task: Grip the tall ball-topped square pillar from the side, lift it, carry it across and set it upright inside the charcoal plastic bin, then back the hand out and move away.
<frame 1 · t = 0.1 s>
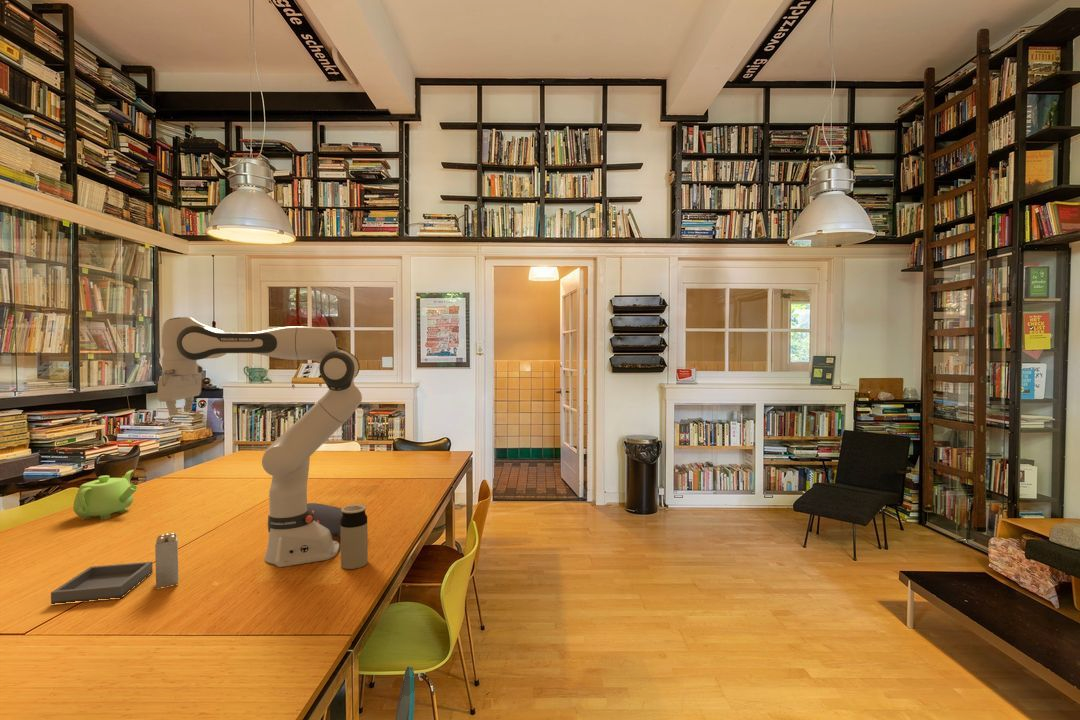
hand: (180, 413, 156), 48 cm above the table, tool pointing down, fingers open, 8 cm apart
charcoal bin: (105, 588, 142), on the table
travel mug: (354, 565, 158), on the table
ball-topped square pillar: (167, 584, 145), on the table
teapot: (114, 513, 205), on the table
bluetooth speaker: (328, 533, 184), on the table
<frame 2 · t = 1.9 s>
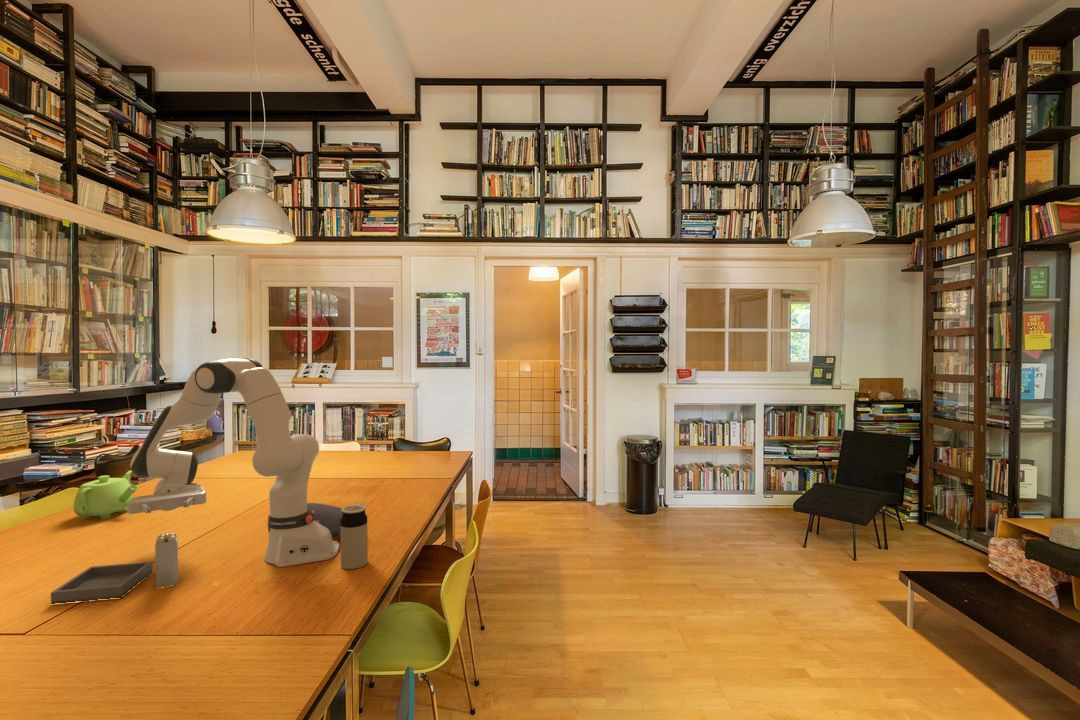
hand: (167, 507, 154), 19 cm above the table, tool horizontal, fingers open, 8 cm apart
nothing on the table moved.
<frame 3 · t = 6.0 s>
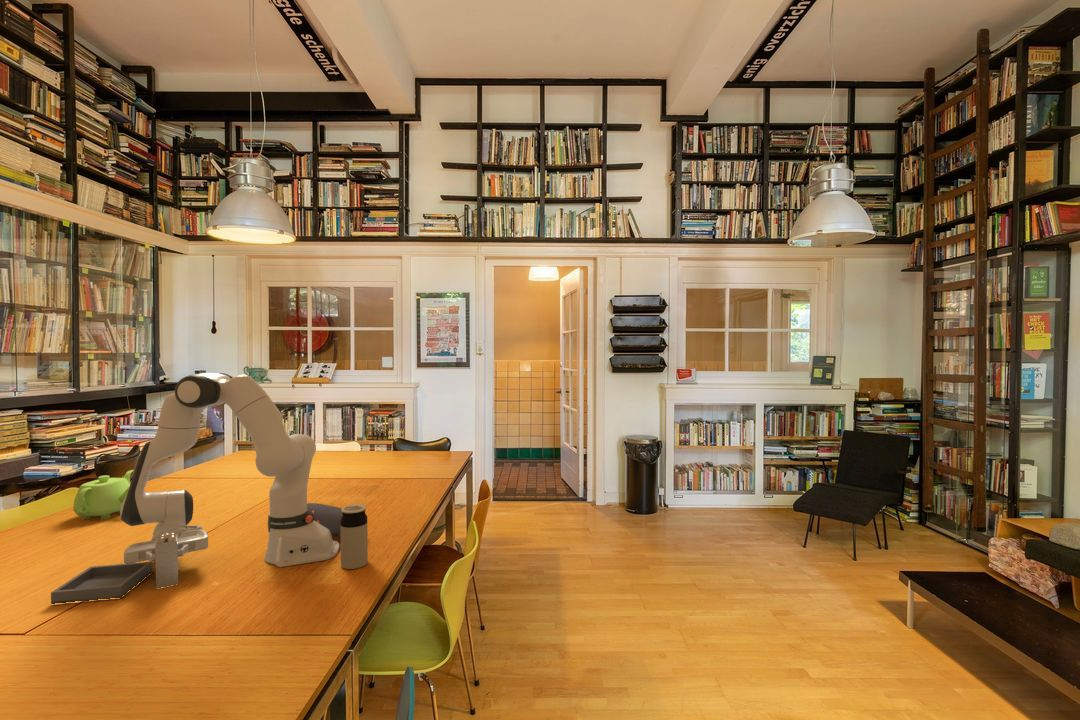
hand: (166, 556, 144), 8 cm above the table, tool horizontal, fingers closed on ball-topped square pillar, 5 cm apart
ball-topped square pillar: (167, 584, 145), on the table, touching gripper
everything else where it was.
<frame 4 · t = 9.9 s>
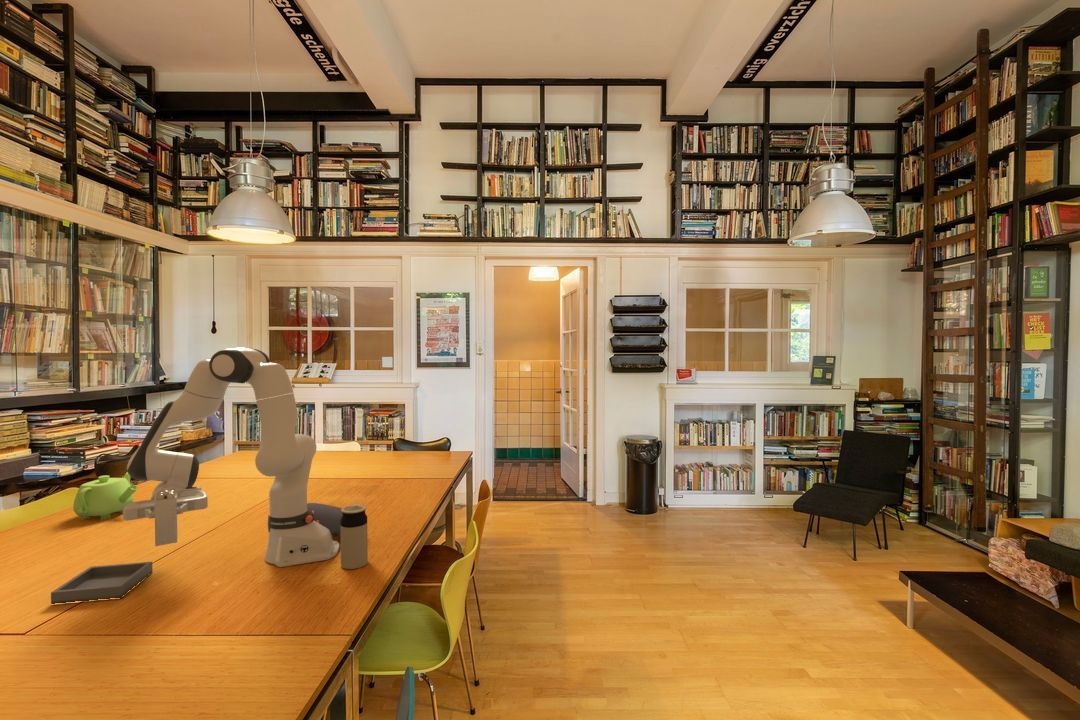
hand: (166, 513, 143), 21 cm above the table, tool horizontal, fingers closed on ball-topped square pillar, 5 cm apart
ball-topped square pillar: (166, 541, 144), point 12 cm above the table, touching gripper
everything else where it was.
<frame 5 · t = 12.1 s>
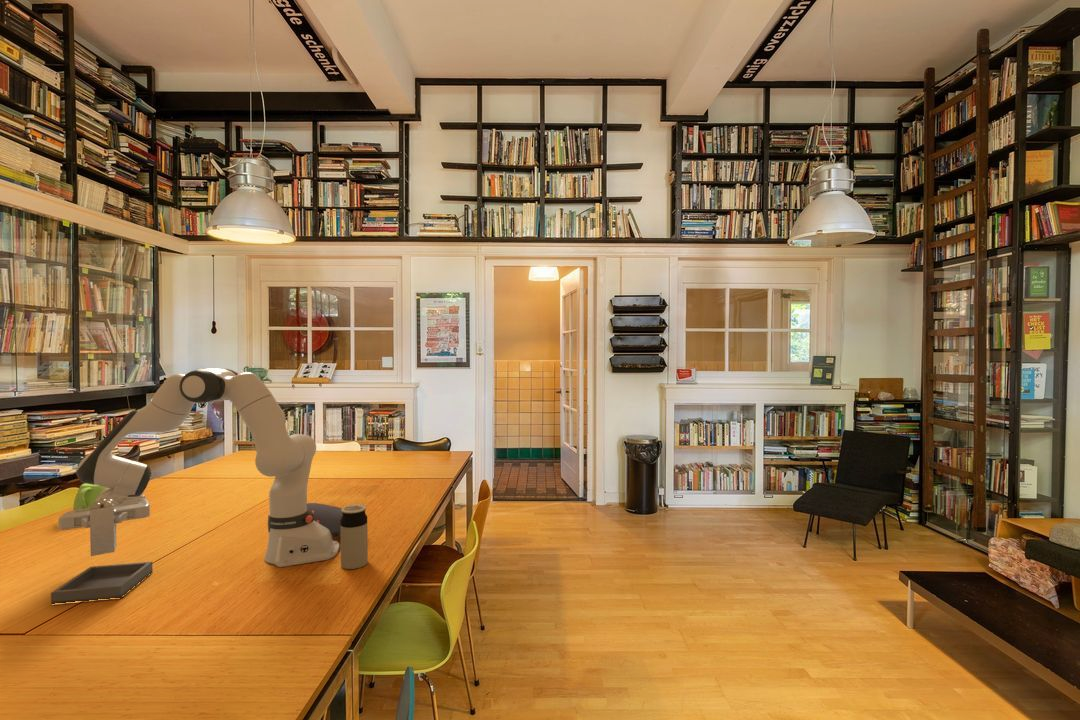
hand: (102, 522, 141), 19 cm above the table, tool horizontal, fingers closed on ball-topped square pillar, 5 cm apart
ball-topped square pillar: (103, 551, 142), point 11 cm above the table, touching gripper
everything else where it was.
when the fingers open (10 cm above the table, at t = 13.9 s): ball-topped square pillar stays where it is, resting on charcoal bin.
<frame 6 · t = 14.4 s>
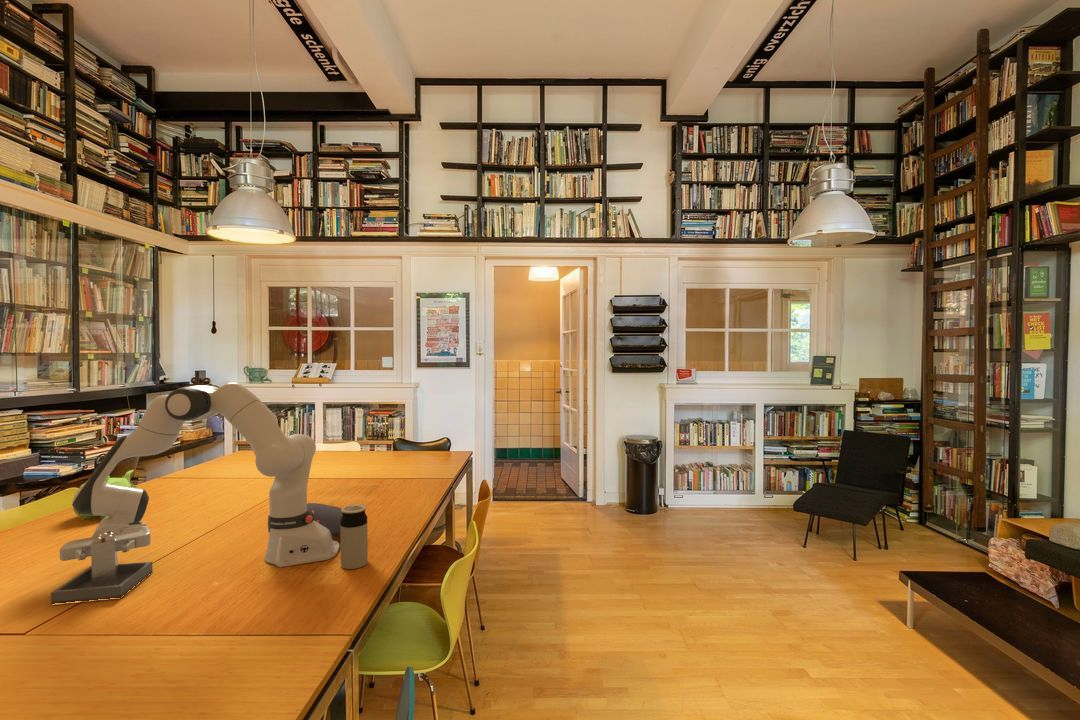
hand: (103, 553, 141), 10 cm above the table, tool horizontal, fingers open, 8 cm apart
ball-topped square pillar: (105, 584, 142), point 1 cm above the table, touching charcoal bin
everything else where it was.
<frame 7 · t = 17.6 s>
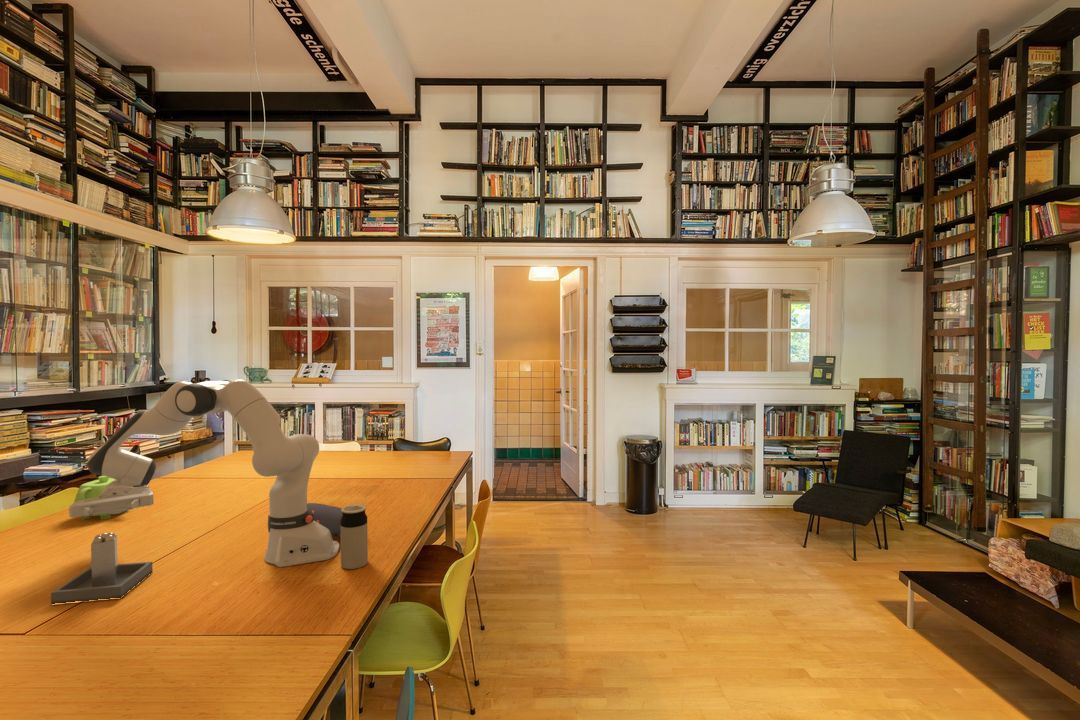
hand: (110, 509, 151), 19 cm above the table, tool horizontal, fingers open, 8 cm apart
nothing on the table moved.
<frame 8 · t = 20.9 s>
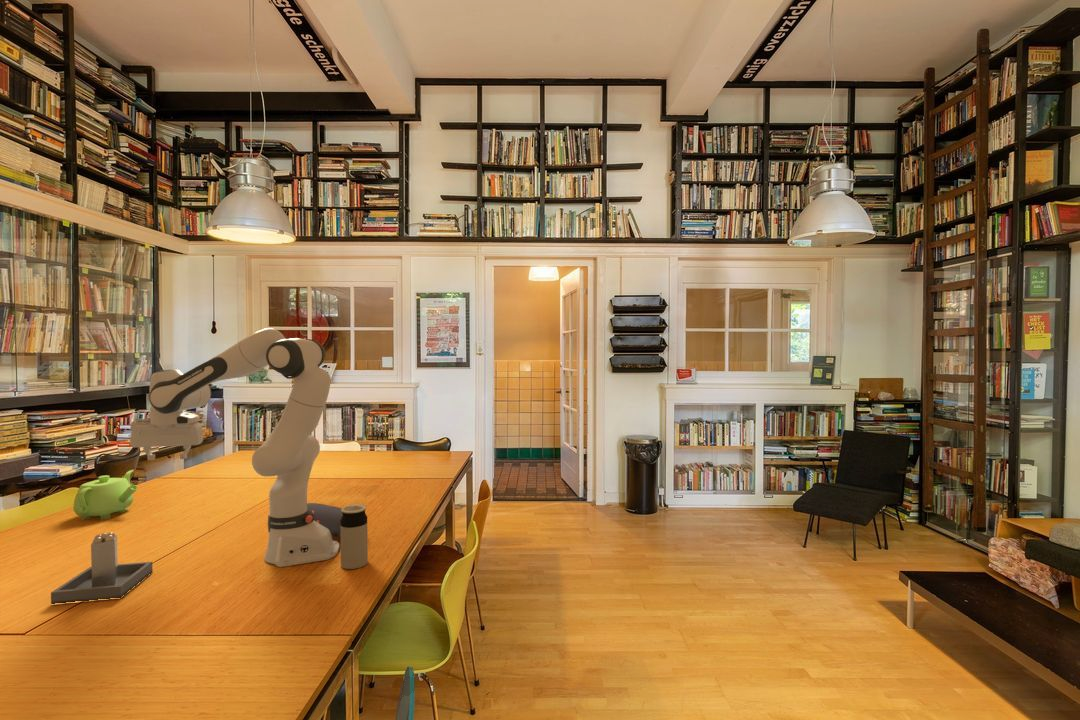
hand: (167, 459, 167), 31 cm above the table, tool pointing down, fingers open, 8 cm apart
nothing on the table moved.
at the end: ball-topped square pillar inside the target area on the charcoal bin (0.0 cm from its centre), point 1.0 cm above the charcoal bin's base; ball-topped square pillar tilted 0°; the gripper is holding nothing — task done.
